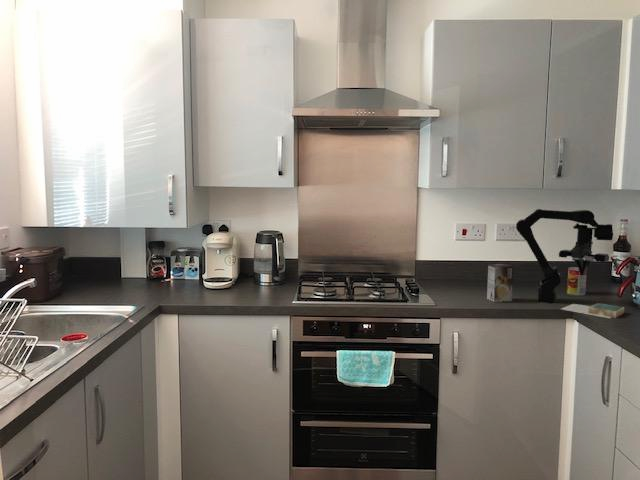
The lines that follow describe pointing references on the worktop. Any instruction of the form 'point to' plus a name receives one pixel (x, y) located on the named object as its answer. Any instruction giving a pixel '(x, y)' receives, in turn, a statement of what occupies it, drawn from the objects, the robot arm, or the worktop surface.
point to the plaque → (606, 310)
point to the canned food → (576, 282)
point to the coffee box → (500, 282)
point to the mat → (580, 309)
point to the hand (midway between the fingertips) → (582, 275)
